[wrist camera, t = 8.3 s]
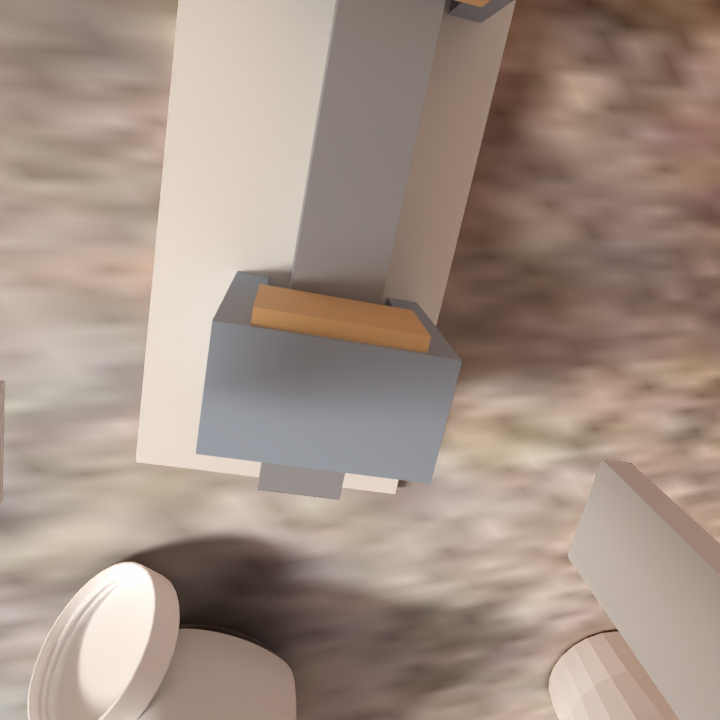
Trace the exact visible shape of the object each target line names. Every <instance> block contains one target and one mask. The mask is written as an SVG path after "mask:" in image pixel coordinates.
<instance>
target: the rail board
mask: <svg viewBox="0 0 720 720" xmlns="http://www.w3.org/2000/svg"><path fill="white" fill-rule="evenodd" d="M515 3H516V0H514V1H512V2H511V3H509V4H508V5H507V6H505V7H504V8H502V9H501V10H499V11H498V12H496V13H495V14H494V15H492V16H491V17H489V18H488V19H486V20H485V21H484V22H482V23H480V22H476V21H472V20H468V19H464V18H460V17H457V16H453V15H449V14H448V13H449V8H450V4H451V0H179V2H178V12H177V23H176V34H175V44H174V55H173V66H172V77H171V87H170V98H169V109H168V120H167V130H166V141H165V152H164V162H163V173H162V184H161V195H160V205H159V216H158V227H157V237H156V248H155V259H154V270H153V280H152V291H151V302H150V313H149V323H148V334H147V345H146V355H145V366H144V377H143V388H142V398H141V409H140V420H139V430H138V441H137V452H136V462H141V463H149V464H157V465H165V466H173V467H181V468H189V469H197V470H205V471H213V472H221V473H230V474H238V475H246V476H254V477H259V483H258V490H263V491H271V492H279V493H288V494H296V495H304V496H312V497H321V498H329V499H337V500H339V499H340V494H341V490H342V488H350V489H358V490H367V491H375V492H383V493H391V494H395V493H396V489H397V485H398V481H399V480H397V479H389V478H381V477H374V476H366V475H358V474H350V473H342V472H334V471H326V470H318V469H311V468H303V467H295V466H287V465H279V464H271V463H263V462H255V461H248V460H240V459H232V458H224V457H216V456H208V455H200V454H196V446H197V438H198V430H199V422H200V414H201V406H202V398H203V390H204V383H205V375H206V367H207V359H208V351H209V343H210V335H211V327H212V320H213V318H214V316H215V314H216V312H217V310H218V308H219V306H220V304H221V302H222V300H223V298H224V296H225V294H226V292H227V290H228V288H229V286H230V284H231V283H232V281H233V279H234V277H235V275H236V273H237V271H239V272H245V273H250V274H256V275H262V276H267V277H269V281H268V285H269V286H275V287H281V288H287V289H292V290H298V291H304V292H310V293H316V294H322V295H327V296H333V297H339V298H345V299H351V300H356V301H362V302H368V303H374V304H380V305H386V301H387V297H388V298H394V299H400V300H405V301H411V302H417V303H418V305H419V306H420V307H421V308H422V310H423V311H424V312H425V313H426V315H427V316H428V317H429V319H430V320H431V321H432V322H433V324H434V325H435V326H437V322H438V317H439V313H440V309H441V305H442V301H443V297H444V293H445V289H446V285H447V281H448V277H449V273H450V269H451V264H452V260H453V256H454V252H455V248H456V244H457V240H458V236H459V232H460V228H461V224H462V220H463V215H464V211H465V207H466V203H467V199H468V195H469V191H470V187H471V183H472V179H473V175H474V171H475V166H476V162H477V158H478V154H479V150H480V146H481V142H482V138H483V134H484V130H485V126H486V122H487V118H488V113H489V109H490V105H491V101H492V97H493V93H494V89H495V85H496V81H497V77H498V73H499V69H500V64H501V60H502V56H503V52H504V48H505V44H506V40H507V36H508V32H509V28H510V24H511V20H512V16H513V11H514V7H515Z"/></svg>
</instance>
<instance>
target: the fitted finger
mask: <svg viewBox="0 0 720 720" xmlns="http://www.w3.org/2000/svg"><path fill="white" fill-rule="evenodd" d="M512 1H514V0H451V4H450V8H449V13H448V14H449V15H453V16H457V17H460V18H464V19H468V20H472V21H476V22H480V23H482V22H484V21H485V20H486V19H488V18H489V17H491V16H492V15H494V14H495V13H496V12H498V11H499V10H501V9H502V8H504V7H505V6H507V5H508V4H509V3H511V2H512Z"/></svg>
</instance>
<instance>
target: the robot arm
mask: <svg viewBox="0 0 720 720" xmlns="http://www.w3.org/2000/svg"><path fill="white" fill-rule="evenodd" d="M4 393H5V381H2V380H0V503H1V502H2V501H3V452H4ZM567 557H568V558H569V560H570V561H571V563H572V564H573V566H574V567H575V568H576V570H577V571H578V573H579V574H580V576H581V577H582V579H583V580H584V582H585V583H586V584H587V586H588V587H589V589H590V590H591V592H592V593H593V595H594V596H595V598H596V599H597V600H598V602H599V603H600V605H601V606H602V608H603V609H604V611H605V612H606V614H607V615H608V616H609V618H610V619H611V621H612V622H613V624H614V625H615V627H616V628H617V630H618V631H619V632H620V634H621V635H622V637H623V638H624V640H625V641H626V643H627V644H628V646H629V647H630V648H631V650H632V651H633V653H634V654H635V656H636V657H637V659H638V660H639V662H640V663H641V664H642V666H643V667H644V669H645V670H646V672H647V673H648V675H649V676H650V678H651V679H652V680H653V682H654V683H655V685H656V686H657V688H658V689H659V691H660V692H661V694H662V695H663V696H664V698H665V699H666V701H667V702H668V704H669V705H670V707H671V708H672V710H673V711H674V712H675V714H676V715H677V717H678V718H679V720H720V544H719V543H718V542H717V541H716V540H715V539H714V538H713V537H711V536H710V535H709V534H708V533H707V532H706V531H705V530H704V529H703V528H702V527H701V526H699V525H698V524H697V523H696V522H695V521H694V520H693V519H692V518H691V517H690V516H689V515H687V514H686V513H685V512H684V511H683V510H682V509H681V508H680V507H679V506H678V505H677V504H675V503H674V502H673V501H672V500H671V499H670V498H669V497H668V496H667V495H666V494H664V493H663V492H662V491H661V490H660V489H659V488H658V487H657V486H656V485H655V484H654V483H652V482H651V481H650V480H649V479H648V478H647V477H646V476H645V475H644V474H643V473H642V472H640V471H639V470H638V469H637V468H636V467H635V466H634V465H633V464H632V463H627V462H620V461H612V460H605V459H602V461H601V464H600V467H599V469H598V472H597V475H596V478H595V480H594V483H593V486H592V489H591V492H590V494H589V497H588V500H587V503H586V505H585V508H584V511H583V514H582V517H581V519H580V522H579V525H578V528H577V530H576V533H575V536H574V539H573V542H572V544H571V547H570V550H569V553H568V556H567Z"/></svg>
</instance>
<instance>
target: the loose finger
mask: <svg viewBox="0 0 720 720" xmlns="http://www.w3.org/2000/svg"><path fill="white" fill-rule="evenodd" d="M268 281H269V277H267V276H262V275H256V274H250V273H245V272H239V271H237V273H236V275H235V277H234V279H233V281H232V283H231V284H230V286H229V288H228V290H227V292H226V294H225V296H224V298H223V300H222V302H221V304H220V306H219V308H218V310H217V312H216V314H215V316H214V318H213V320H212V327H211V335H210V343H209V351H208V359H207V367H206V375H205V383H204V390H203V398H202V406H201V414H200V422H199V430H198V438H197V446H196V454H200V455H208V456H216V457H224V458H232V459H240V460H248V461H255V462H263V463H271V464H279V465H287V466H295V467H303V468H311V469H318V470H326V471H334V472H342V473H350V474H358V475H366V476H374V477H381V478H389V479H397V480H405V481H413V482H421V483H429V484H430V483H431V479H432V475H433V471H434V467H435V464H436V460H437V456H438V452H439V448H440V444H441V441H442V437H443V433H444V429H445V425H446V422H447V418H448V414H449V410H450V406H451V403H452V399H453V395H454V391H455V387H456V384H457V380H458V376H459V372H460V368H461V365H462V360H461V358H460V357H459V356H458V354H457V353H456V352H455V351H454V349H453V348H452V347H451V346H450V344H449V343H448V342H447V340H446V339H445V338H444V337H443V335H442V334H441V333H440V331H439V330H438V329H437V328H436V326H435V325H434V324H433V322H432V321H431V320H430V319H429V317H428V316H427V315H426V313H425V312H424V311H423V310H422V308H421V307H420V306H419V305H418V303H417V302H411V301H405V300H400V299H394V298H388V297H387V301H386V305H380V304H374V303H368V302H362V301H356V300H351V299H345V298H339V297H333V296H327V295H322V294H316V293H310V292H304V291H298V290H292V289H287V288H281V287H275V286H269V285H268Z"/></svg>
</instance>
